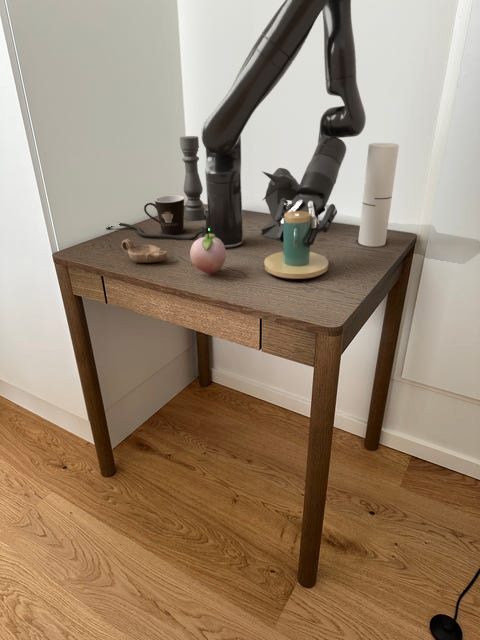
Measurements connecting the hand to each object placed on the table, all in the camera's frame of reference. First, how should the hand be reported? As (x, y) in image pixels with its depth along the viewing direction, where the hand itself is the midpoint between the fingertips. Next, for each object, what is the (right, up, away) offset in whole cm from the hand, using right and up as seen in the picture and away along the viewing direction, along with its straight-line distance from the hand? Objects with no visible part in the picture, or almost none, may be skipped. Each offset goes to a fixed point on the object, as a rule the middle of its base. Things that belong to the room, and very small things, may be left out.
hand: (293, 242), depth 104 cm
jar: (+1, -5, +4) cm, 6 cm away
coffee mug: (-34, +9, +36) cm, 50 cm away
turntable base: (+1, -6, +5) cm, 8 cm away
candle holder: (-27, +16, +48) cm, 57 cm away
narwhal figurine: (0, +9, +33) cm, 35 cm away
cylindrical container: (+24, +3, +21) cm, 32 cm away
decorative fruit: (-19, -7, +5) cm, 21 cm away
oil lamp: (-37, -2, +14) cm, 39 cm away
